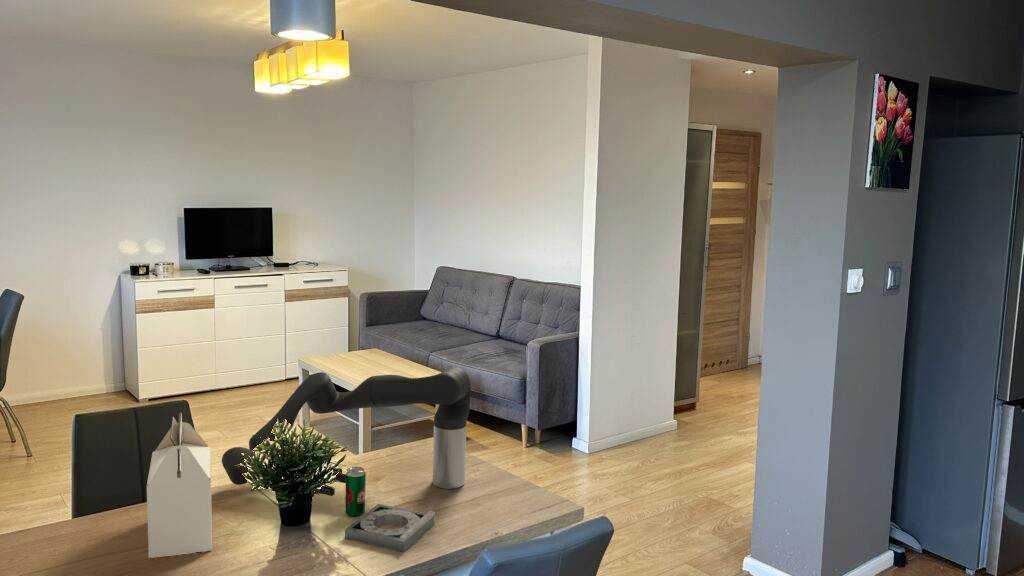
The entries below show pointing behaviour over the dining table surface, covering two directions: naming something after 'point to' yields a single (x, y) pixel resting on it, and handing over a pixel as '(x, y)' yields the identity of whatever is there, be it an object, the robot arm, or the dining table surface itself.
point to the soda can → (355, 492)
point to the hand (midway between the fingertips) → (343, 485)
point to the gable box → (179, 493)
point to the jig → (390, 539)
